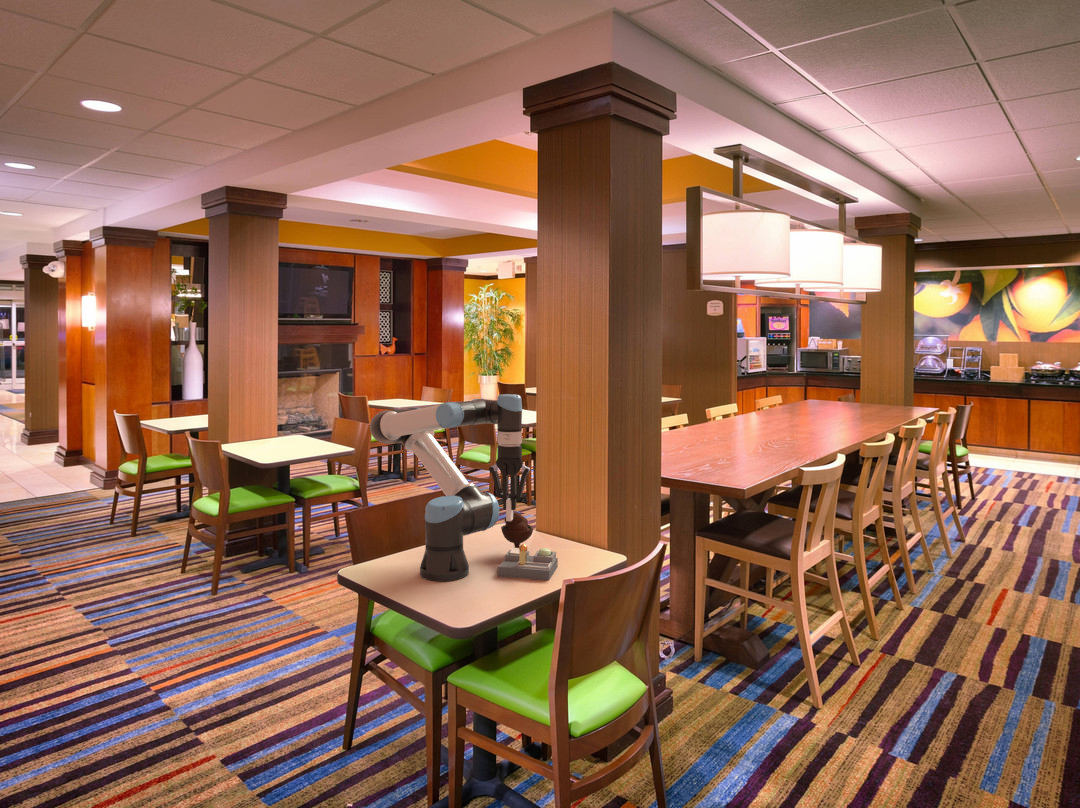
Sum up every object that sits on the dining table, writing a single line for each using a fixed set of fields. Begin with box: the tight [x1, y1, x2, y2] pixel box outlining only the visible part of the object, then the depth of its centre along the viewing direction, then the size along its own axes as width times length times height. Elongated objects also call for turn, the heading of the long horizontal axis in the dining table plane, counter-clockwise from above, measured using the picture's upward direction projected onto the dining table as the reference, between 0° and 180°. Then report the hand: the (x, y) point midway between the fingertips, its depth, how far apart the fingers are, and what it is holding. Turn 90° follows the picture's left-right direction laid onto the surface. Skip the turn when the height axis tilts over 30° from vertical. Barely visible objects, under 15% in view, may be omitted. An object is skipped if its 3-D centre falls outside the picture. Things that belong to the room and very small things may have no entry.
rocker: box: [510, 547, 520, 555], centre depth 221 cm, size 4×3×1 cm
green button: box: [538, 547, 551, 556], centre depth 219 cm, size 4×4×3 cm
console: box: [497, 549, 559, 581], centre depth 217 cm, size 16×13×5 cm
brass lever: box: [519, 543, 528, 565], centre depth 214 cm, size 3×3×6 cm
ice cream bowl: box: [500, 511, 534, 548], centre depth 234 cm, size 11×11×15 cm
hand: (509, 520), depth 214 cm, fingers closed
